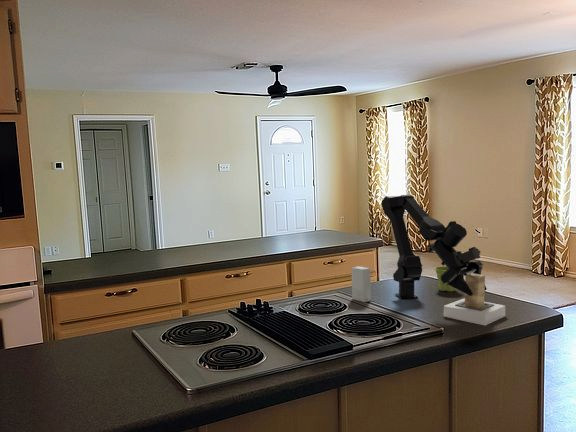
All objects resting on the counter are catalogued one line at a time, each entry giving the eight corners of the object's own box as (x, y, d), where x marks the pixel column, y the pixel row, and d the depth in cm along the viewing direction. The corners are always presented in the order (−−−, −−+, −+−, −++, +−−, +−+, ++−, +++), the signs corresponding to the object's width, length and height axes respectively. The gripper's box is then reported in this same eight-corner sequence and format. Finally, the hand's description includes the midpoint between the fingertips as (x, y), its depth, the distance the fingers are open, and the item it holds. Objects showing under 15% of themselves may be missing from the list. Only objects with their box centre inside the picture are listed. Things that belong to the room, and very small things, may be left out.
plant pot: (429, 288, 205) (429, 267, 204) (447, 286, 209) (448, 265, 208) (445, 293, 197) (446, 271, 196) (464, 291, 200) (464, 269, 200)
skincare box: (371, 300, 188) (371, 267, 187) (363, 302, 185) (363, 269, 184) (359, 297, 193) (359, 265, 191) (350, 299, 190) (350, 267, 189)
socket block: (443, 316, 167) (443, 304, 166) (464, 308, 176) (464, 296, 176) (485, 325, 157) (485, 313, 156) (505, 316, 166) (505, 304, 166)
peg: (464, 314, 167) (465, 275, 165) (471, 312, 170) (472, 273, 168) (477, 317, 163) (478, 277, 162) (484, 314, 166) (484, 275, 165)
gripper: (449, 242, 161) (482, 282, 154) (478, 236, 173) (509, 273, 167) (427, 264, 167) (458, 303, 160) (456, 256, 180) (485, 293, 173)
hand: (478, 292), depth 165 cm, fingers open, 9 cm apart
